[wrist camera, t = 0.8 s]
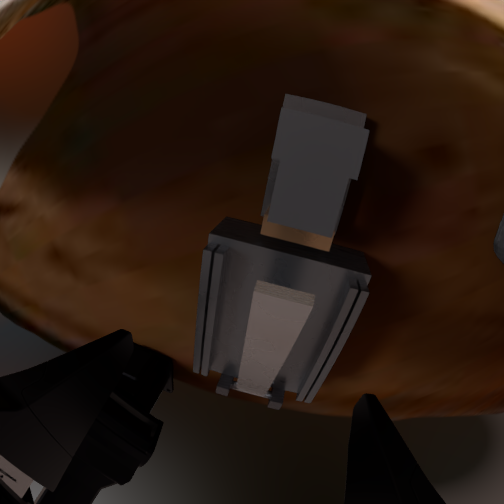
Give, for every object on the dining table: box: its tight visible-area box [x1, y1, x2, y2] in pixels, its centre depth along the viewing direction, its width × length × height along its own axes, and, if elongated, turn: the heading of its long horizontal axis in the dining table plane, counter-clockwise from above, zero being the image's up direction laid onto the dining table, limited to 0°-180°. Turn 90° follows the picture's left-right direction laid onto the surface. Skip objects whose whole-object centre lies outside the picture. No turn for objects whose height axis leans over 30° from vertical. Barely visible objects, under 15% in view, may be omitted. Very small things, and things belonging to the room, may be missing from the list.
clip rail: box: [261, 94, 367, 235], centre depth 16 cm, size 8×5×1 cm, turn 170°
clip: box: [267, 108, 370, 238], centre depth 14 cm, size 5×4×4 cm
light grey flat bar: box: [236, 280, 315, 395], centre depth 16 cm, size 14×2×1 cm, turn 170°
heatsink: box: [193, 204, 372, 410], centre depth 19 cm, size 15×10×5 cm, turn 170°
